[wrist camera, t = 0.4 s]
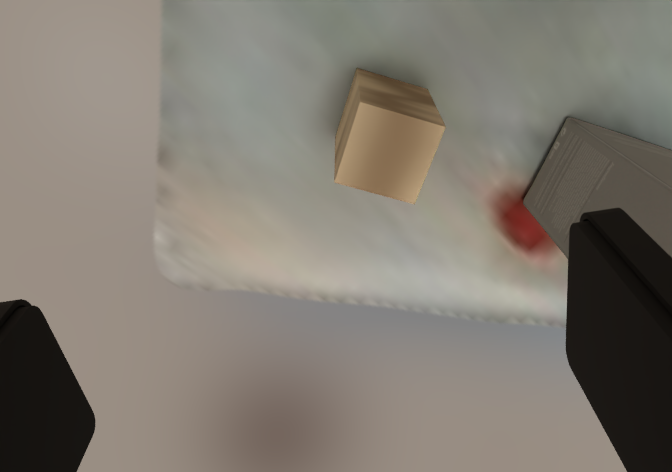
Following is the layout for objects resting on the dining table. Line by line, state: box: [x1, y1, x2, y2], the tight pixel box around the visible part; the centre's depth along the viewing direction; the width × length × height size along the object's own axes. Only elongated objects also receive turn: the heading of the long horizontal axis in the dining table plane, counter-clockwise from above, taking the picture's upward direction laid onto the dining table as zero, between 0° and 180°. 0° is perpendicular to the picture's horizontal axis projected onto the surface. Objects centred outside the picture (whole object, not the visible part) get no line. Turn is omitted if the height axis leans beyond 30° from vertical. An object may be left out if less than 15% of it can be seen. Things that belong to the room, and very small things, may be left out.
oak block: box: [334, 68, 446, 204], centre depth 33 cm, size 4×4×7 cm
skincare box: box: [523, 117, 672, 259], centre depth 31 cm, size 8×7×16 cm
